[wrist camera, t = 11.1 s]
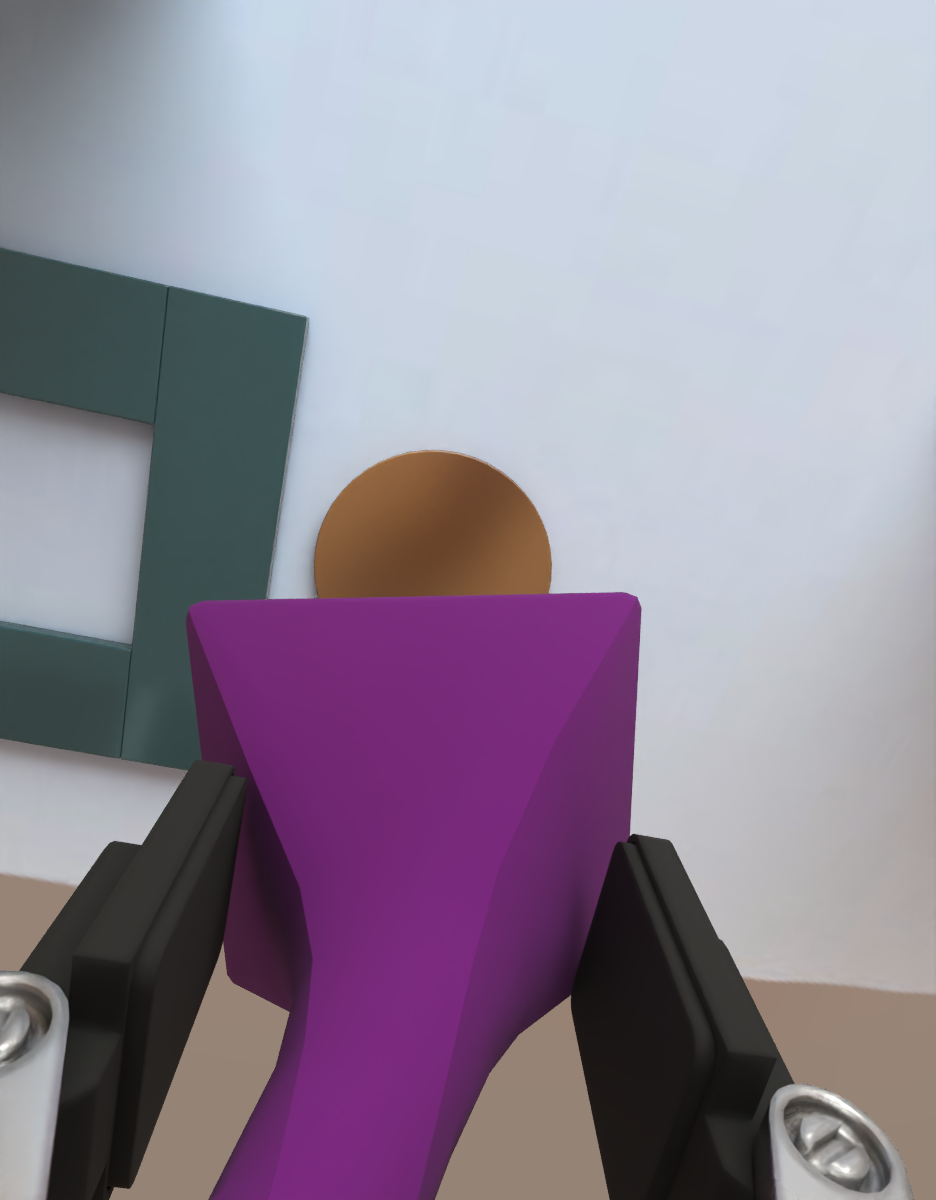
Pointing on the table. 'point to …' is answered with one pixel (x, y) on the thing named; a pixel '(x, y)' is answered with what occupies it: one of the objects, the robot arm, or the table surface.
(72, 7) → the table surface
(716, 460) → the table surface
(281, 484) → the green square frame
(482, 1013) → the purple corked potion bottle
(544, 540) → the coaster
